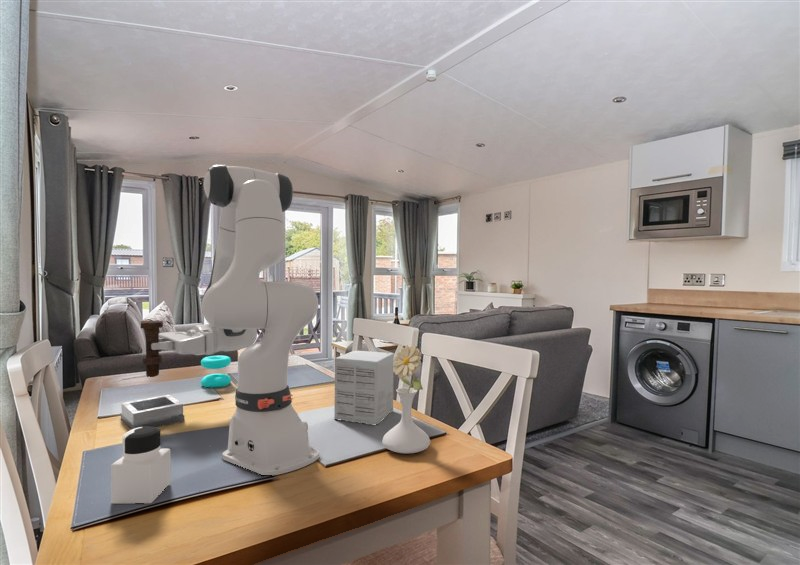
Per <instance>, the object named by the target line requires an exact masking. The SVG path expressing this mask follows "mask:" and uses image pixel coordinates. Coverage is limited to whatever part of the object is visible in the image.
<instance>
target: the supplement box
mask: <svg viewBox="0 0 800 565" xmlns="http://www.w3.org/2000/svg"><path fill="white" fill-rule="evenodd" d="M394 358H395V354H394V353H393V352H385V351H384V352H380V351H370V350H356V349H355V350H352V351H350V352H347V353H344V354H342V355H340V356H337V357H335V358H334V420H335V419H341V420H347V421H346V422H348V421H353V422H352V423H355V422H360V423H359V424H362V423H367V424H366V425H369V424H378V423H379V422H380V421H381V420H382V419H383V418H384V419H386V418H387V417H388V416H389V415H390V414H392V413H393V411H394V374H395V373H394V372H393V369H394V368H395V367H394V366H393V363H394V360H395V359H394ZM389 413H390V414H389ZM388 414H389V415H388ZM387 415H388V416H387ZM386 416H387V417H386ZM385 417H386V418H385ZM384 419H383V420H384ZM341 420H340V421H341ZM383 420H382V421H383ZM382 421H381V422H382ZM381 422H380V423H381ZM380 423H379V424H380ZM379 424H378V425H379Z"/></svg>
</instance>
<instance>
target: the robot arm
mask: <svg viewBox="0 0 800 565" xmlns="http://www.w3.org/2000/svg"><path fill="white" fill-rule="evenodd" d="M203 190H204V193H205V196H206V200H207V201H209V202H210V204H212V205H213V206H217V207H220V208H221V210H220V214H219V222H218V231H217V232H218V233H217V242H216V247H215V250H214V256H213V261H212V262H213V263H212V268H211V275H210V279H209V280H210V281H209V283H208V286H207V287H206V289H205V291H204V293H203V296H202V301H201V311H202V314H203V318H204V319H205V320H206V322H207V324H196V325H195V324H194V325H193V326H192V327H191V328H190V329H188V330H187V331H169V332H166V331H165V332H159V339H158V340H159V342H155V343H151V344H150V345H151V347H150V348H151V349H152V350H158V349H159V350H169V351H171V352H174V353H175V354H177V355H184V356H185V355H186V356H187V355H195V356H203V355H204V356H212V355H214V354H216V353H218V352H233V351H239V350H242V351H241V353H240V354H239V356H238V358H237V388H236V390H235V394H234V395H235V396H234V399H235V400H234V401H235V406H236V409H235V412H234V414H233V415H232V416H231V418H230V419H229V425H228V426H229V429H228V443H227V449H226V450H224V451H223V452H222V454H221V456H222V457H221V459H222V460H223V461H225V462H228V463H231V464H233V465H235V464H236V465H235V466H237V465H238V466H237V467H240V466H241V467H240V468H242V467H243V469H245V468H246V469H245V470H247V469H249V470H252V471H255V472H257V473H259V474H261V475H272V476H277V475H281V474H282V475H283V474H286V473H289V472H293V471H296V470H298V469H301V468H304V467H306V466H308V465H310V464H313V463H314V462H316V461H317V460H318V459H319V458H320V457H319V456H321V454H320V452H319V451H318V449H316V448H315V447H314V446H313V445H312V444H311V443H309V432H308V431H309V430H308V429H309V425H308V421H306V420H305V421H302V419H301V417H300V416H299V414H298V412H297V411H296V410H295V409H294V408H295V407H293V404H292V402H293V401H292V400H293V394H292V393H291V390H290V387H289V385H288V370H289V368H288V366H289V359H290V358H289V356H290V352H291V349H292V346H293V343H294V342H295V340H296V338H297V337H298V335H299V334H300V333H301V331H302V330H303V329H305V327H306V326H308V325H309V324H310V323H311V322H312V321H313V320H314V319H315V317H316V315H317V313H318V310H319V298H318V295H317V292H316V291H315V290H314V288H313V287H312V286H311V285H310V284H306V283H301V282H296V281H290V280H289V281H288V280H284V281H283V280H282V281H278V280H277V281H275V280H274V281H266V280H265V281H263V280H261V279H260V274H261V273H262V272H263V271H265V270H267V269H269V268H271V267H273V266H275V265H277V264H279V263H280V262H282V260H283V258H284V256H285V253H286V250H285V249H286V248H285V226H284V215H283V213H284V212H286V211H287V210H289V208H290V207H291V206H292V202H293V198H294V188H293V183H292V182H291V180H290V178H289V177H288V176H286V175H284V174H281V173H278V172H276V173H273V172H272V171H271V172H270V171H268V170H267V171H266V170H262V169H257V168H252V167H250V166H249V167H248V166H236V165H234V166H233V165H226V164H213V165H211V166H210V167H209V168H208V169H207V171H206V174H205V175H204V178H203ZM257 329H258V330H261V329H264V330H265V331H264V334H263V336H262V337H261V338H260V339H259V340H258V341H256V340H257V337H258V336H257V335H258V331H257ZM145 345H146V341H145ZM318 457H319V458H318ZM249 470H248V471H249ZM252 471H251V472H252ZM259 474H258V475H259ZM261 475H260V476H261Z"/></svg>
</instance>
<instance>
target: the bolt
mask: <svg viewBox="0 0 800 565" xmlns="http://www.w3.org/2000/svg"><path fill="white" fill-rule="evenodd" d="M163 327H164V321H162V320H146V321H144V320H143V321H141V323H140V329H144V334H145V342H146V344H145V356H143V358H142V364H143V365H144V366H145V370H146V371H145V375H146V377H147V378H154V377H157V376H159V374H160V364H161V363H162V359H163V357H162V356H163V355H160V349H158V350H152V349H151V348H150V347H151V345H150V344H151V343H155V342H159V340H158V339H159V333H160V329H161V328H163Z"/></svg>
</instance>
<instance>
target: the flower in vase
mask: <svg viewBox="0 0 800 565" xmlns="http://www.w3.org/2000/svg"><path fill="white" fill-rule="evenodd" d="M421 360H422V352H421V351H420V349H419V348H417V347H416V345H414V344H411V345H410V346H409V345H405V347H402V348H400V351H397V352H396V356H395V355H394V363H393V366H394V369H393V372H394V373H393V374H394V375H395V376H398V378H399V379H400V380H401V381H402V382H403V383H404V384H406V385H407V386H408V387H398V388H397V389H396V390H395V391H396V393H397V394H398V396H399V399H400V403H401V418H400V421H399V422H398V423H397V424H396V425H394V426H393V427H392V428H391V429H389V430H388V431H387V432H385V434H384V435H383V437H382V441H381V442H382V444H383V446H384V447H385V449H387V450H388V451H389V450H390V451H392V452H395V453H398V454H405V455H406V454H415V453H420V452H423V451H425V450H427V449H428V447H429V446H430V445H431V439H430V437H429V435H428V434H427V433H426V432H425V431H424V430H423V429H422V428H420V427H419V426H418V425H417V424H416V423H415V422H414V421H413V419H412V408H413V407H412V406H413V401H414V398H415V396H416V394H417V393H418V392H419V390H420V391H423V389H424V388H423V386H422V385H423V384H422V382H421V381H422V380H421V379H420V378H417V379H416V378H415V377H416V376H415V372H416V371H417V370H418V369H419V366H420V365H421V363H422V361H421ZM410 376H412V381H411V383H410V380H409V379H407V378H406V377H410ZM412 386H413V387H412Z"/></svg>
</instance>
